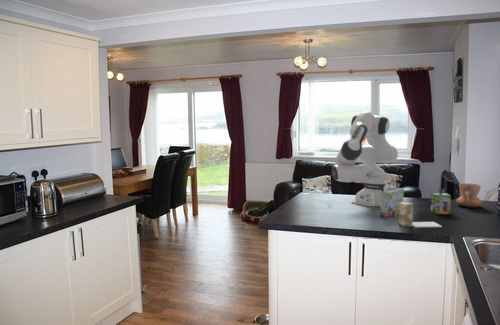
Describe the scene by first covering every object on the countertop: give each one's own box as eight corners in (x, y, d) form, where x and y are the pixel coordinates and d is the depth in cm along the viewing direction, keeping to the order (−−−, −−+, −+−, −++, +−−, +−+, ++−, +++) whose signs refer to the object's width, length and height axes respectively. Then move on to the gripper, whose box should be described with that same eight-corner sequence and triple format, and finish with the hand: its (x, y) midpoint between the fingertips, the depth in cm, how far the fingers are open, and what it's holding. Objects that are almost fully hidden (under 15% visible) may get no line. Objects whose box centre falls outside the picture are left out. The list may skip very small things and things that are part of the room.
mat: (415, 227, 209) (415, 226, 209) (408, 223, 218) (408, 222, 218) (442, 227, 209) (442, 226, 209) (433, 222, 218) (433, 221, 218)
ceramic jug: (459, 202, 269) (460, 181, 267) (484, 205, 260) (485, 183, 258) (452, 208, 255) (453, 186, 254) (478, 211, 246) (479, 188, 244)
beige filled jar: (402, 226, 211) (403, 204, 209) (398, 224, 216) (399, 202, 214) (412, 226, 211) (412, 204, 209) (408, 224, 216) (409, 202, 214)
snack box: (388, 219, 227) (389, 192, 225) (379, 217, 231) (380, 191, 229) (403, 212, 242) (404, 188, 241) (394, 211, 246) (395, 186, 245)
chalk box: (450, 214, 236) (451, 190, 234) (433, 214, 238) (435, 189, 236) (446, 211, 245) (447, 187, 243) (430, 210, 247) (431, 187, 245)
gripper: (372, 169, 197) (398, 171, 199) (356, 167, 218) (380, 168, 219) (371, 182, 198) (397, 183, 199) (355, 178, 218) (379, 179, 220)
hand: (388, 175), depth 209 cm, fingers open, 8 cm apart
